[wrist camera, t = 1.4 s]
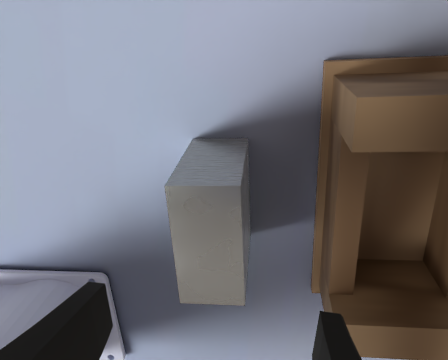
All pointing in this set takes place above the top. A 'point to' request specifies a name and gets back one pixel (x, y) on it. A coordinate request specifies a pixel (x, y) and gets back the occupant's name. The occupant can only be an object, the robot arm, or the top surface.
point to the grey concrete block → (211, 221)
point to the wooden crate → (384, 204)
